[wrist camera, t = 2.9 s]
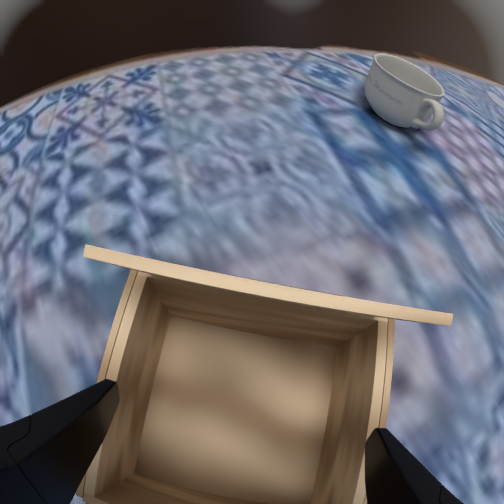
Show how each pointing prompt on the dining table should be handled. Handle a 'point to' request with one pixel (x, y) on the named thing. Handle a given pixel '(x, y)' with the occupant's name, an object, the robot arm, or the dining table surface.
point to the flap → (266, 288)
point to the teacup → (403, 93)
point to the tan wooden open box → (237, 399)
